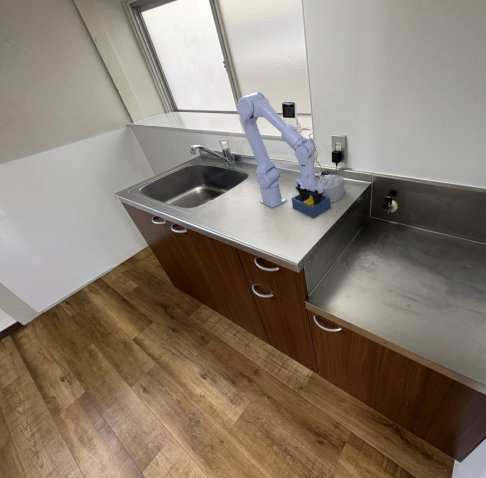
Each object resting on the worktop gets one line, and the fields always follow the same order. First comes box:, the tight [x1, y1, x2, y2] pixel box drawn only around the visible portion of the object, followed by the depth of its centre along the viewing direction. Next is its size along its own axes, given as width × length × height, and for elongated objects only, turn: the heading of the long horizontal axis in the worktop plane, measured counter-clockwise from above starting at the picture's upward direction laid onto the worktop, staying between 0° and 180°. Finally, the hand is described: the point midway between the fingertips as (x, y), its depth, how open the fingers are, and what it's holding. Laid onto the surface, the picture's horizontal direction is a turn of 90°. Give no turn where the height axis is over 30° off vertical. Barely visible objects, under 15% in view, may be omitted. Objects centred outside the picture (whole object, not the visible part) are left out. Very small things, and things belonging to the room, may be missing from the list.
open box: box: [291, 189, 332, 219], centre depth 106 cm, size 13×10×5 cm
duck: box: [303, 195, 314, 207], centre depth 106 cm, size 4×6×6 cm
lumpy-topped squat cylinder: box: [317, 174, 345, 204], centre depth 111 cm, size 10×13×9 cm
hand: (310, 203), depth 106 cm, fingers open, 7 cm apart
